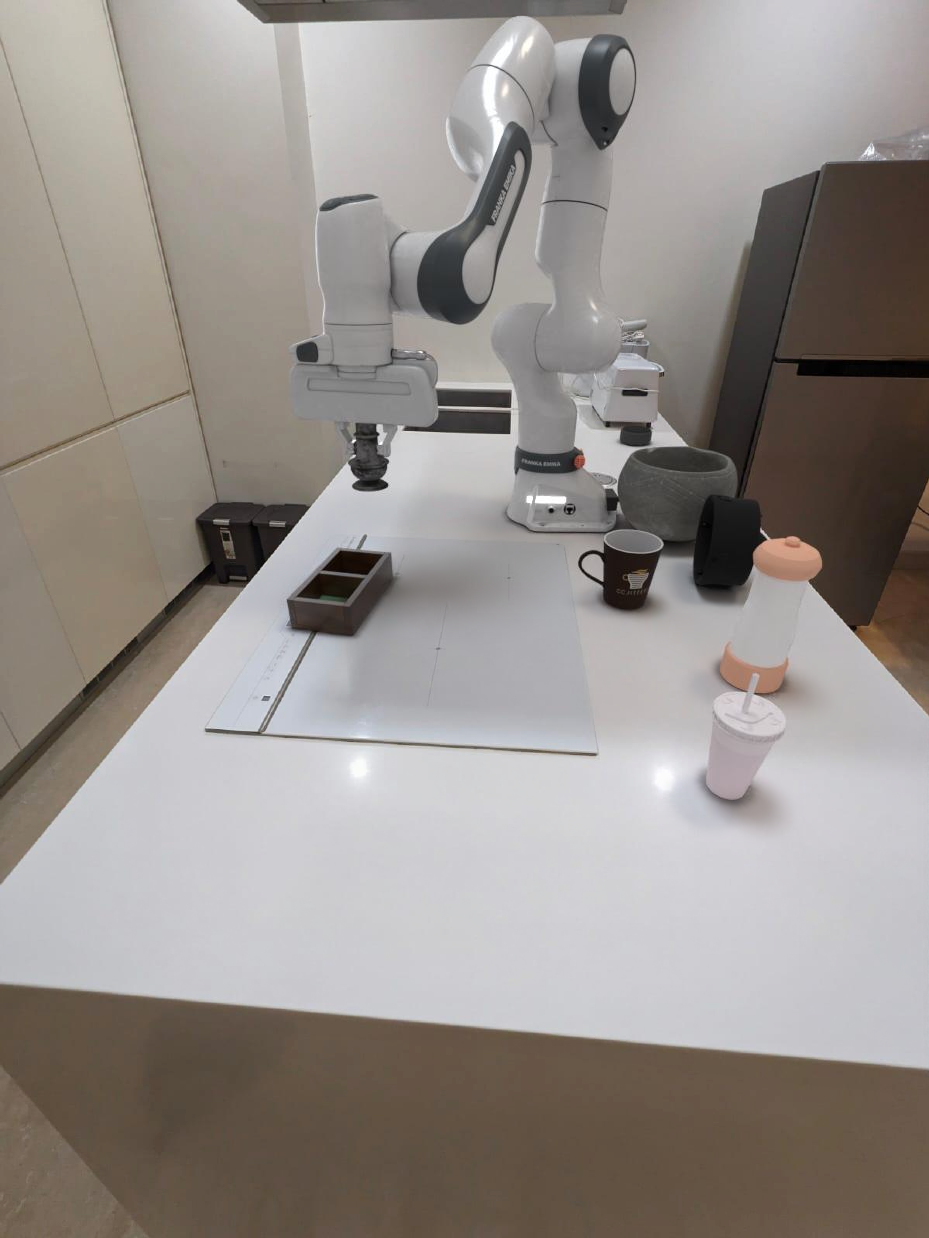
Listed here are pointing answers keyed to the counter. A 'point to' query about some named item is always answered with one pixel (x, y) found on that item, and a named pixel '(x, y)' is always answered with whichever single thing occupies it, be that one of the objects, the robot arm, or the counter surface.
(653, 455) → the bowl
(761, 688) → the pepper shaker
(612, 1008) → the counter surface
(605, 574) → the coffee mug
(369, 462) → the salt shaker
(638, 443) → the smart speaker
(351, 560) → the divided wooden box
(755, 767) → the smoothie
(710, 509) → the black cylinder
